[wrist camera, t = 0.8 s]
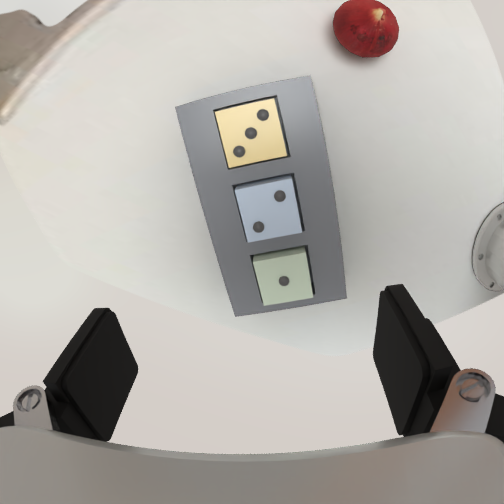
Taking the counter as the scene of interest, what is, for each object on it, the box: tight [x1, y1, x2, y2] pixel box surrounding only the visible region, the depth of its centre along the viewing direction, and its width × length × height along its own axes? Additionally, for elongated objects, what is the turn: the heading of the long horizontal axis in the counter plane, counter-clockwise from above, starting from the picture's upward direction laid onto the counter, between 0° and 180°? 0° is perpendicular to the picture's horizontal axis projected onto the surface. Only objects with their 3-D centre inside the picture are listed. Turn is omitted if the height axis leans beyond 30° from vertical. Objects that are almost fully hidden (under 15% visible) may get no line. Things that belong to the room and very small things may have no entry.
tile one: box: [253, 245, 313, 306], centre depth 31 cm, size 5×5×2 cm
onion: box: [333, 0, 399, 57], centre depth 20 cm, size 6×6×8 cm
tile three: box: [215, 98, 287, 168], centre depth 26 cm, size 5×5×2 cm
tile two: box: [235, 174, 302, 243], centre depth 28 cm, size 5×5×2 cm
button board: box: [175, 76, 347, 317], centre depth 30 cm, size 12×22×4 cm, turn 13°
